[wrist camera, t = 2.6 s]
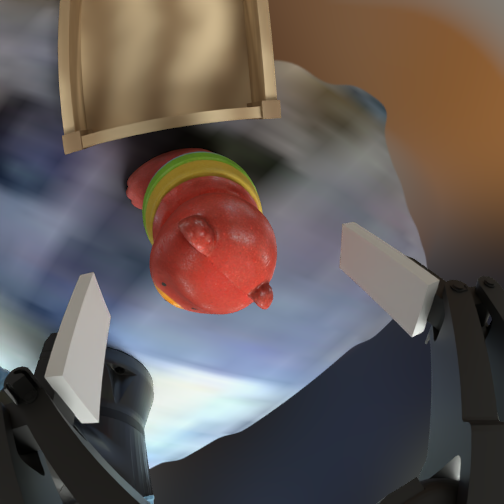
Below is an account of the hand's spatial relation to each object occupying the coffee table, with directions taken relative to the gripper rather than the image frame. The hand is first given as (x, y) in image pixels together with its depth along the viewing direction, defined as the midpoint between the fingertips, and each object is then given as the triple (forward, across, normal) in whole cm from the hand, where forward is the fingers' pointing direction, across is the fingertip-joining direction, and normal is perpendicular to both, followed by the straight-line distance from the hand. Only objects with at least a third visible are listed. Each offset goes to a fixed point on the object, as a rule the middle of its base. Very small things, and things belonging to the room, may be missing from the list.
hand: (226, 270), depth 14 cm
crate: (+17, -2, +16) cm, 23 cm away
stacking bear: (+17, 0, 0) cm, 17 cm away
